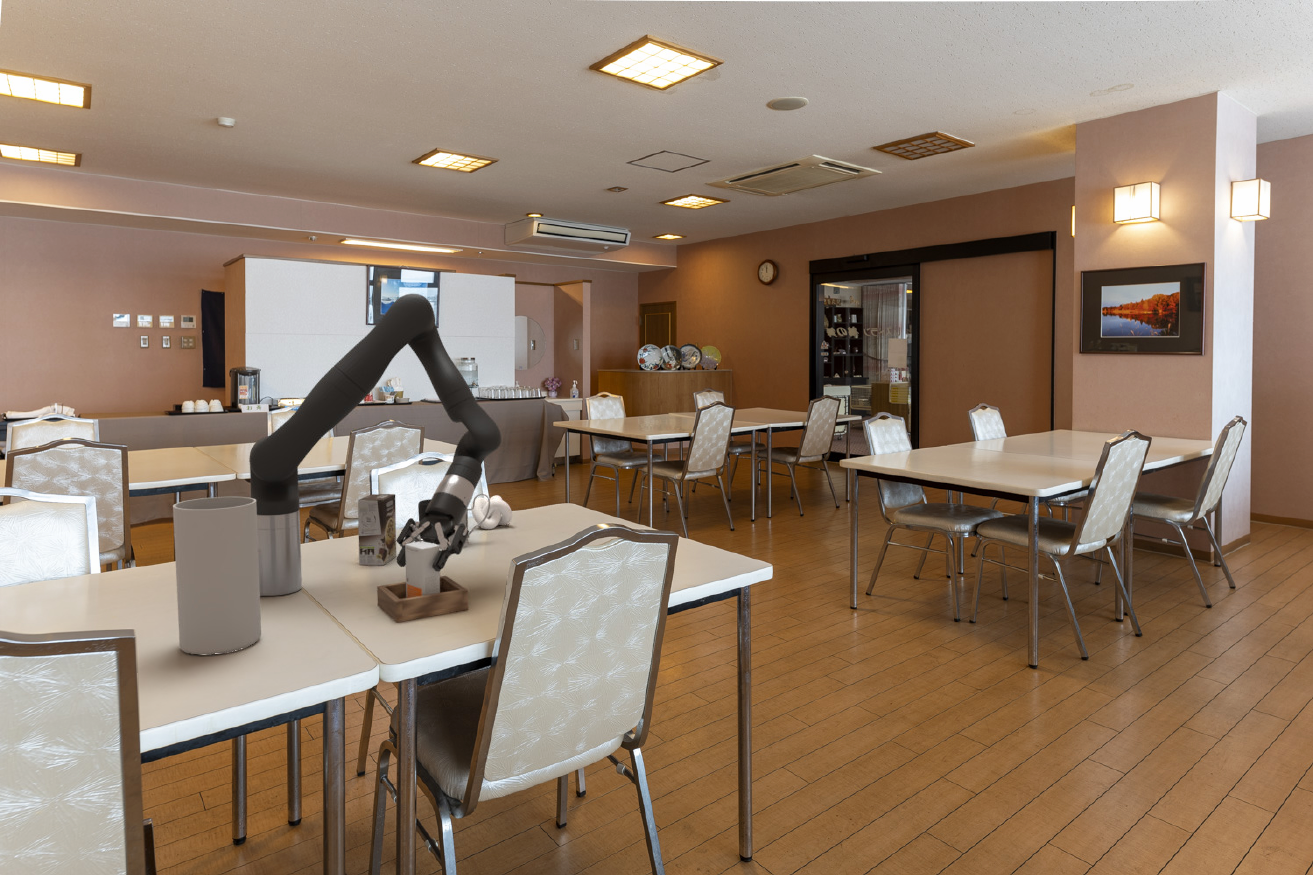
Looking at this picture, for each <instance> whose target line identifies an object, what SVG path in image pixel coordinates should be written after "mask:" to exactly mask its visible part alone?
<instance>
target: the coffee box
mask: <svg viewBox="0 0 1313 875" xmlns="http://www.w3.org/2000/svg"><path fill="white" fill-rule="evenodd" d="M357 508H358V509H357V515H358V516H357V517H358V518H357V519H358V521H357V522H358V523H357V524H358V565H362V566H364V565H365V566H367V565H369V566H385V564H387V563H389V562H390V561H392V560H393V559H394V558H397V541H396V540H397V523H396V522H397V519H396V518H397V517H396V514H397V513H396V512H397V511H396V508H397V507H396V493H395V494H394V493H392V494H390V493H379V494H375V493H374V494H370V495H367V496H364V497H362V498H360V499H358V500H357Z"/></svg>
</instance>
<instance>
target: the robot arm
mask: <svg viewBox="0 0 1313 875" xmlns="http://www.w3.org/2000/svg"><path fill="white" fill-rule="evenodd" d="M407 345H408V347H410V349H411V350H412V351H413V353H414V354H415V355H416V357H417V359H418V360H419V362H420V364H421V365H422V368H424V371H425V373H426V374H427V376H428V379H429V380H430V383H431V384H432V387H433V390H434V391H435V393H436V395H437V397H438V399H439V401H440V403H441V405H442V407H443V409H444V410H445V412H446V414H447V416H448V418H449V419H450V420H451V421H452V422H453V423H456V424H457V423H462V424H463V425H464V427H465V428H466V430H467V431H466V432H465V433H464V434H463V435H462V436H461V438H460V439H459V441H458V443H457V445H456V449H455V450H454V455H453V458H452V462H451V463H450V465H449V467H448V469H447V471H446V473H445V474H444V476H443V478H442V480H441V481H440V483H439V484H438V486H437V488H436V490H435V491H434V493H433V495H432V497H431V501H430V503H429V505H428V507H427V509H426V511H425V517H424V519H423V520H422V521H420V522H419V521H418V520H417V521H416V520H415V519H414V518H409V519H408V520H407V521H406V524H405V525H404V526H403V528H402V529H401V532H400V533H399V535H398V536H397V537H396V543H398V544H399V546H400V547H401V549H400V551H399V553H398V554H397V555H396V557H395V558H396V559H395V560H396V564H397V565H398V566H399V567H401V568H402V567H403V568H406V555H405V545H406V544H409V543H414V542H419V541H424V542H428V543H433V544H435V545H439V544H440V545H441V548H440V549H441V550H440V549H439V552H438V555H437V557H436V559H435V561H434V563H433V565H432V567H433V568H434V570H435V571H440V572H441V570H442V569H444V568H445V566H446V563H447V562H448V559H449V557H451V556H452V555H460V554H461V553H462V550H463V549H464V548H463V546H464V543H465V541H466V538H467V536H468V534H469V532H470V530H469V528H468V529H467V527H466V526H465V525H464V524H463V523H461V524H460V522H461V520H462V518H463V516H464V514H465V512H466V510H467V508H468V507H469V506H470V503H471V501H472V499H473V496H474V492H475V491H476V488H477V486H478V484H479V482H480V479H481V478H482V475H483V466H482V465H483V462H484V460H485V459H486V458H487V457H488V456H489V455H491V454H492V453H493V452H495V451H497V450H498V449H499V447H500V446H501V444H502V433H501V430H500V428H499V426H498V425H497V423H496V421H495V420H493V418H492V417H491V416H490V415H489V414H488V413H487V412H486V410H485V409H484V408H483V407H482V406H481V405H479V403H478V402H477V400H476V398H475V395H474V394H473V392H472V390H471V389H470V386H469V384H468V383H467V381H466V379H465V378H464V376H463V374H462V373H461V371H460V370H459V369H458V368H457V366H456V365H455V363H454V361H453V359H452V358H451V357H450V355H449V353H448V351H447V350H446V347H445V346H444V343H443V342H442V338H441V336H440V333H439V330H438V328H437V323H436V316H435V311H434V309H433V305H432V304H431V302H430V301H429V299H428V298H427V297H425V296H424V295H422V294H419V293H407V294H404V295H401V296H400V297H398V298H397V299H396V300H395V301H393V303H392V304H391V305H390V307H389V308H388V309H387V311H386V312H385V313H384V314H383V316H382V317H381V318H380V320H378V322H377V323H376V324H375V326H374V327H373V328H372V329H371V330H370V331H369V333H367V334H366V335H365V336H364V338H362V339H361V340H360V341H358V342H357V344H355V346H353V347H352V348H351V349H350V350H349V351H347V353H346V354H345V355H344V356H343V357H342V358H341V359H340V360H338V361H337V362H336V363H335V364H334V365H333V366H332V367H331V368H330V369H329V370H328V371H327V372H326V373H325V374H323V376H322V377H321V378H320V379H319V380H318V382H317V383H316V384H315V385H314V387H313V388H312V389H311V390H310V391H309V393H308V394H307V395H306V397H305V398H304V399H303V401H302V403H300V405H299V407H298V409H296V411H295V412H294V413H293V415H291V417H289V418H288V419H287V421H285V422H284V423H283V424H282V425H280V427H278V428H277V429H276V430H274V431H273V432H272V433H271V434H270V435H268V436H267V435H266V436H264V437H262V438H259V439H258V440H257V441H256V442H255V443H254V444H253V446H252V447H251V449H250V452H249V458H248V459H249V474H250V475H249V476H250V477H249V478H250V498H253V499H256V508H257V535H258V562H259V588H260V597H265V596H266V597H267V596H268V597H269V596H270V597H271V596H272V597H273V596H275V597H276V596H282V595H283V596H284V595H288V594H292V593H296V592H299V591H300V590H301V589H302V588H303V584H302V583H303V581H302V580H303V575H302V552H301V550H302V549H301V548H302V547H301V546H302V545H301V521H300V520H301V518H300V515H301V513H300V492H299V470H298V469H299V466H300V465H301V463H302V462H303V461H304V460H305V458H306V457H307V455H308V454H310V452H311V451H312V449H313V448H314V447H315V446H316V444H317V443H318V442H319V441H320V440H321V439H322V438H323V437H324V436H325V435H327V433H329V432H330V431H331V430H332V429H334V427H336V426H337V425H338V424H339V423H340V422H342V421H343V420H344V419H345V418H346V417H347V416H348V415H350V413H351V412H352V411H353V410H354V409H355V408H357V407H358V405H360V403H362V401H363V400H364V399H365V398H366V397H367V396H368V395H369V394H371V392H372V391H373V389H374V388H375V387H376V386H377V384H378V383H379V381H380V380H381V379H382V377H383V375H384V373H385V372H386V370H387V368H388V366H389V365H390V364H391V362H392V361H393V359H394V358H395V356H397V354H398V353H399V352H400V351H401V350H402V349H404V347H406V346H407ZM468 509H469V508H468ZM459 524H460V525H459ZM453 534H455V536H454V538H453V541H452V543H451V544H450V540H449V537H451V536H452V535H453ZM420 535H421V537H420ZM419 537H420V539H419Z"/></svg>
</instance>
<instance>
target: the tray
mask: <svg viewBox="0 0 1313 875" xmlns="http://www.w3.org/2000/svg"><path fill="white" fill-rule="evenodd" d="M376 589H377V590H376V591H377V593H376V595H377V598H376V599H377V602H376V603H377V606H378V607H379V608H380V609H381V610H382V611H383V612H384V613H385V614H386V615H388V617H390V618H391V619H392V620H393V621H394V622H395V623H400V622H406V621H412V620H416V619H417V618H418V619H423V618H428V617H434V616H440V615H444V614H450V612H451V613H455V612H456V611H457V612H461V611H466V610H469V590H468V589H467V588H466V587H464V586H462V585H461V584H459V583H458V582H456V581H455V580H453V579H452V578H450V577H449V576H447V575H443V576H441V575H440V593H436V594H430V595H423V596H417V597H411V598H406V581H402V582H396V583H390V584H383V585H382V584H381V585H377V586H376ZM457 612H456V613H457ZM418 619H417V620H418Z"/></svg>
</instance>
